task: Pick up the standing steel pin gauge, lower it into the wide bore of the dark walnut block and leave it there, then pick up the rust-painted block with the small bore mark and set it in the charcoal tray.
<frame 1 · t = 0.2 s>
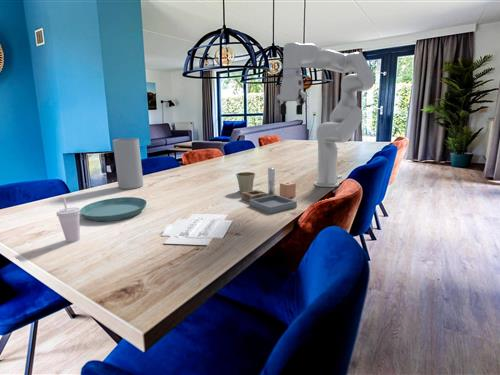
hand: (291, 114, 141), 36 cm above the table, tool pointing down, fingers open, 9 cm apart
walnut bore block: (254, 199, 139), on the table
white flat piece: (199, 230, 107), on the table
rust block: (287, 196, 144), on the table
cylinder vase: (131, 187, 168), on the table
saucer: (115, 213, 125), on the table
steel pin: (271, 193, 148), on the table
smoothie: (73, 240, 99), on the table
flower pot: (246, 191, 153), on the table
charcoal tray: (272, 206, 129), on the table
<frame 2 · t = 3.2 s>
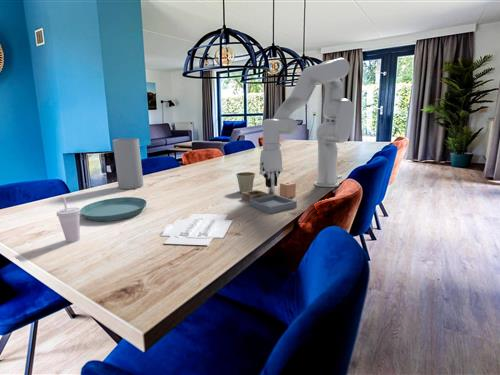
hand: (271, 185, 147), 4 cm above the table, tool pointing down, fingers closed on steel pin, 3 cm apart
steel pin: (271, 193, 148), on the table, touching gripper
everything else where it was.
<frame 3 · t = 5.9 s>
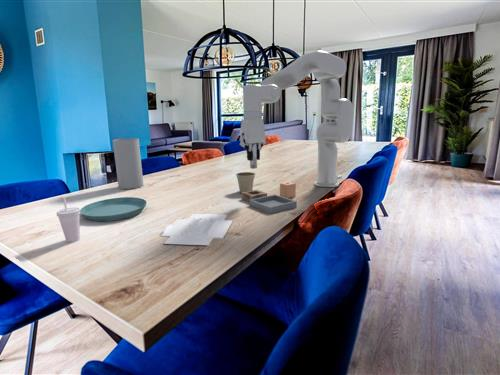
hand: (253, 159, 135), 18 cm above the table, tool pointing down, fingers closed on steel pin, 3 cm apart
steel pin: (253, 168, 136), point 14 cm above the table, touching gripper
everything else where it was.
when the fingers open (5 cm above the table, at t = 8.9 s): steel pin stays where it is, resting in walnut bore block.
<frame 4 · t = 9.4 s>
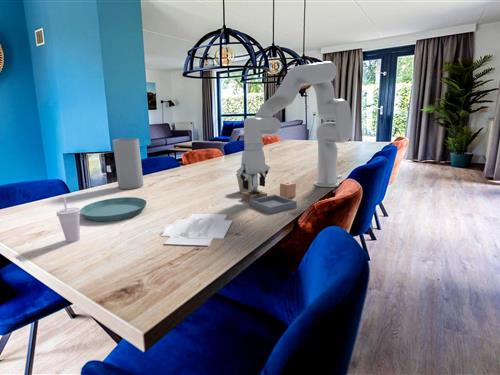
hand: (254, 187, 138), 6 cm above the table, tool pointing down, fingers open, 8 cm apart
steel pin: (254, 199, 139), resting in walnut bore block
everything else where it was.
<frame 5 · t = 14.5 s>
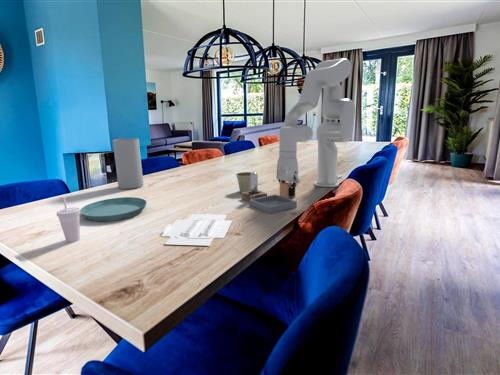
hand: (287, 194, 143), 1 cm above the table, tool pointing down, fingers closed on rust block, 5 cm apart
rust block: (287, 196, 144), on the table, touching gripper
everything else where it was.
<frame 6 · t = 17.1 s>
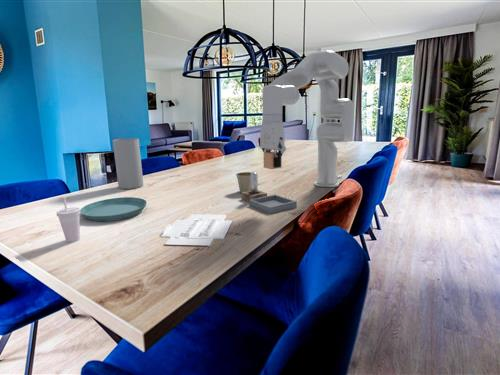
hand: (272, 165, 125), 17 cm above the table, tool pointing down, fingers closed on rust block, 5 cm apart
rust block: (272, 167, 125), point 16 cm above the table, touching gripper
everything else where it was.
when the fingers open (3 cm above the table, at t = 19.9 s): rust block drops 1 cm, resting on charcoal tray.
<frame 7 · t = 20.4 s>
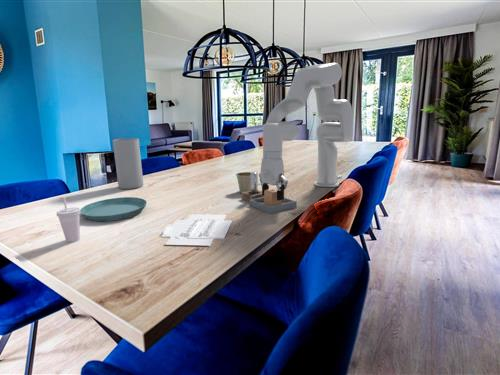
hand: (272, 197, 128), 4 cm above the table, tool pointing down, fingers open, 9 cm apart
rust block: (272, 204, 129), point 1 cm above the table, touching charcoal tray
everything else where it was.
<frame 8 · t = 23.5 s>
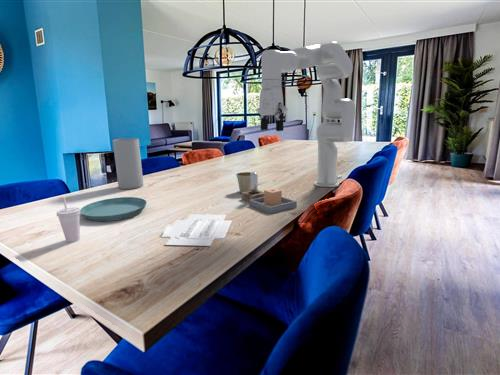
hand: (271, 130, 125), 30 cm above the table, tool pointing down, fingers open, 9 cm apart
nothing on the table moved.
at the end: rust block inside the target area on the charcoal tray (0.1 cm from its centre), point 0.6 cm above the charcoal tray's base; steel pin 0.1 cm from the walnut bore block (horizontally); steel pin resting in walnut bore block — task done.
